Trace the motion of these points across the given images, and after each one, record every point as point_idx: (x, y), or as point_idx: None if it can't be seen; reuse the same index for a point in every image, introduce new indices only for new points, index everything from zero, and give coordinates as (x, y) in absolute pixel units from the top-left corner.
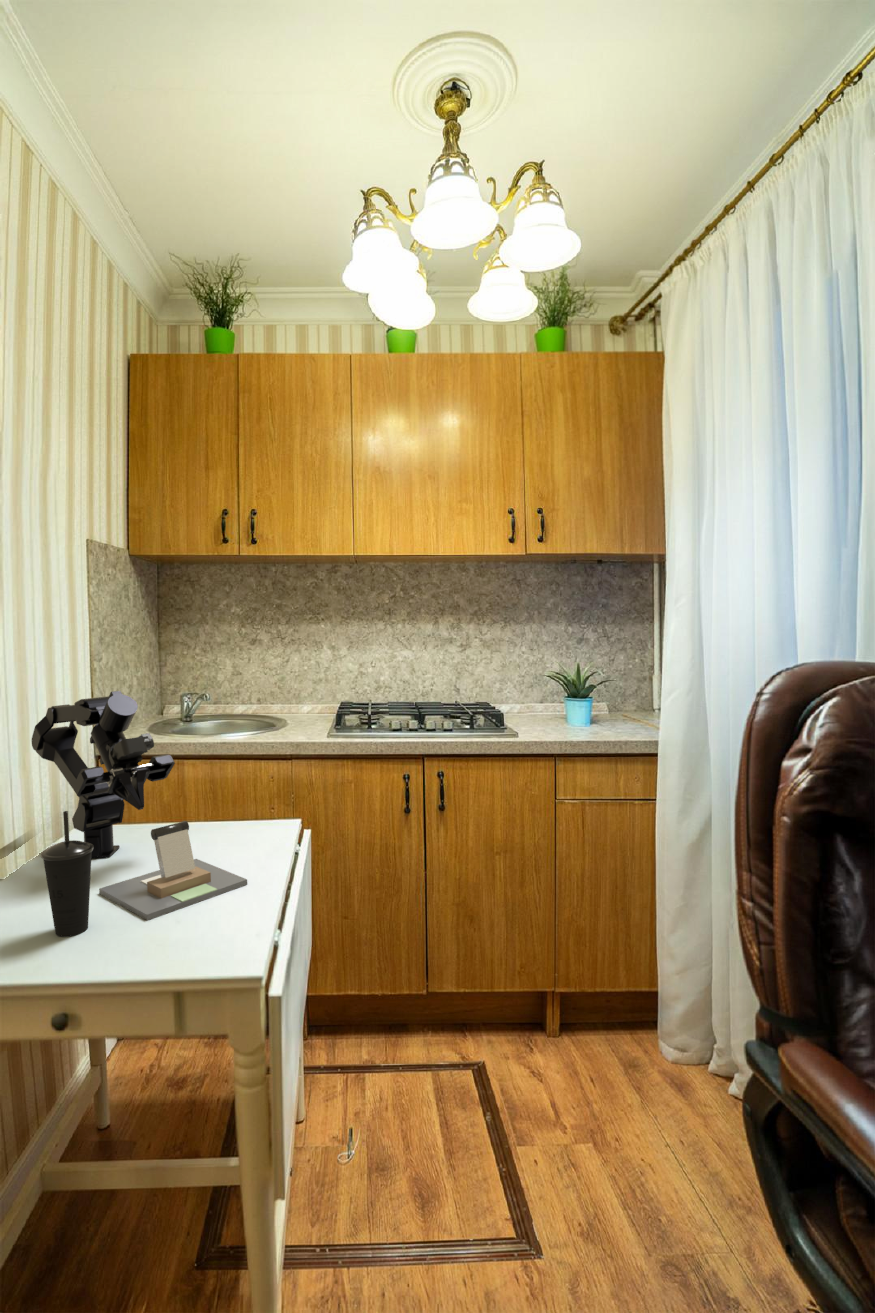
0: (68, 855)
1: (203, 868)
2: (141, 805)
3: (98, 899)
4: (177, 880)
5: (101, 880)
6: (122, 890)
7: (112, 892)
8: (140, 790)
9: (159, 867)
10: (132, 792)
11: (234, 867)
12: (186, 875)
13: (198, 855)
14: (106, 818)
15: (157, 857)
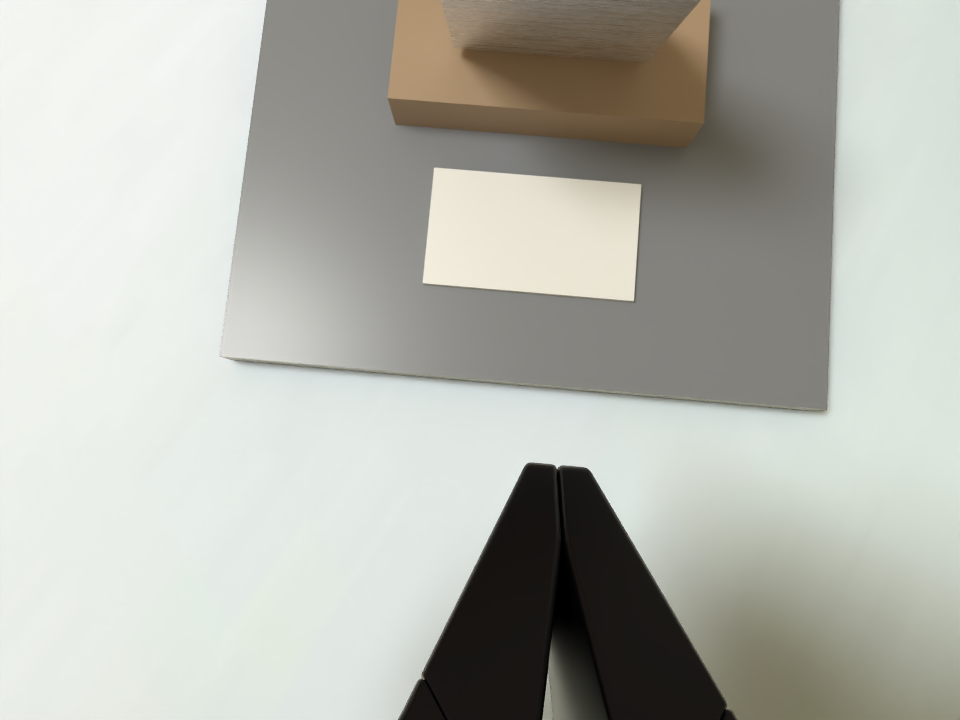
0: None
1: (305, 180)
2: (565, 477)
3: (849, 345)
4: None
5: (704, 596)
6: (761, 271)
7: (808, 293)
8: (495, 692)
9: (661, 45)
10: (686, 712)
11: (159, 129)
12: None
13: (130, 473)
14: None
15: (679, 23)
